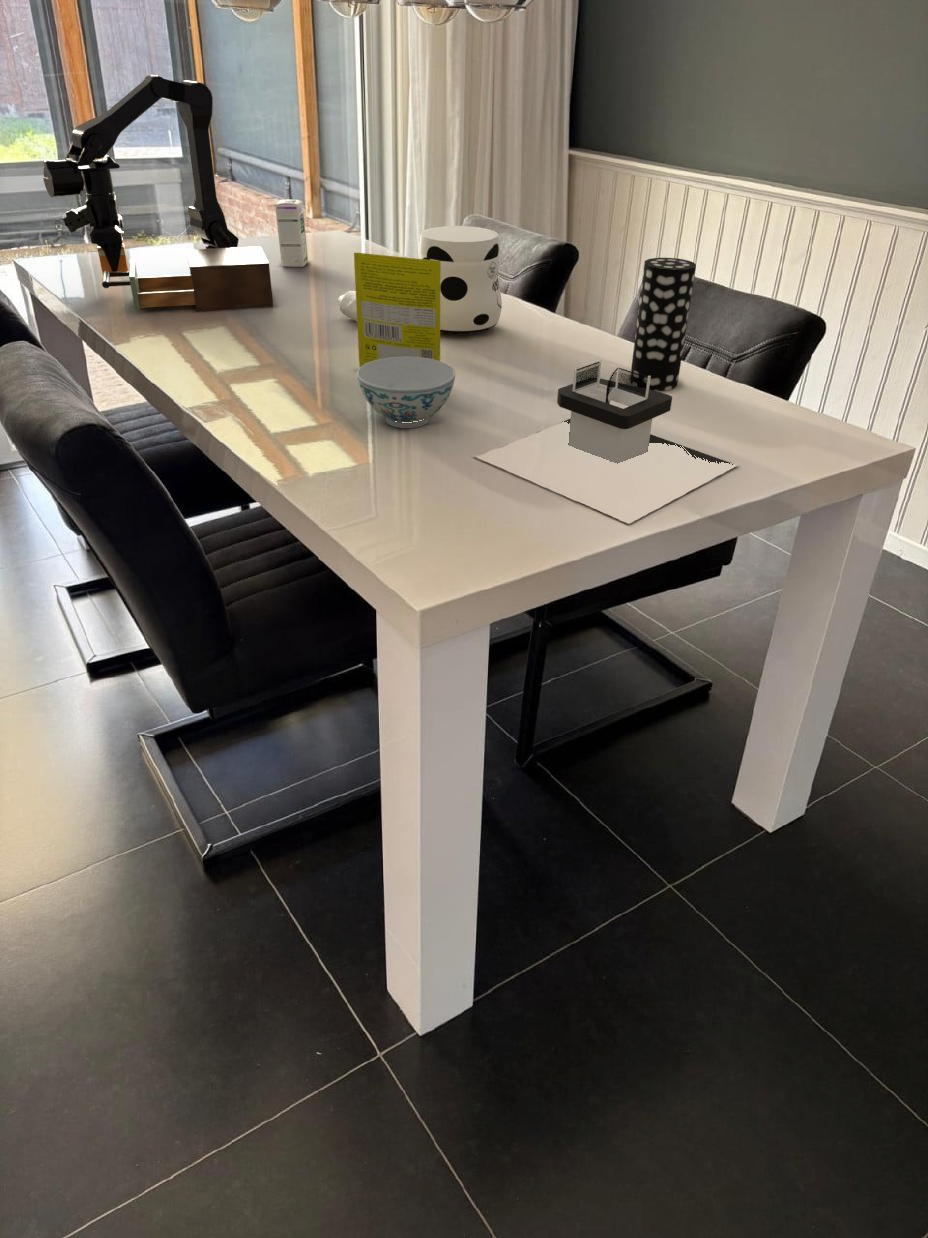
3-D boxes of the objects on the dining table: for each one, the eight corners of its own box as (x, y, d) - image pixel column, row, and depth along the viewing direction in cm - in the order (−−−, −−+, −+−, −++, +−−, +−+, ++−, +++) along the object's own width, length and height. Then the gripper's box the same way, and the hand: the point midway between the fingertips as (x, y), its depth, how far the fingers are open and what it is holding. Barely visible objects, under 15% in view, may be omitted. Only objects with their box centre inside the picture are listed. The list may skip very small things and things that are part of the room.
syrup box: (304, 266, 222) (299, 203, 214) (280, 266, 222) (274, 202, 214) (308, 261, 227) (303, 199, 219) (285, 261, 227) (279, 198, 219)
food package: (441, 380, 156) (441, 260, 145) (438, 382, 155) (439, 261, 144) (360, 369, 160) (355, 251, 149) (358, 371, 159) (352, 252, 148)
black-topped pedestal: (739, 466, 129) (757, 375, 121) (628, 525, 113) (642, 426, 106) (587, 412, 145) (595, 329, 138) (473, 457, 130) (475, 367, 122)
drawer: (106, 311, 183) (99, 278, 180) (108, 291, 196) (101, 260, 192) (215, 304, 189) (210, 272, 185) (210, 285, 201) (206, 255, 198)
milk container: (518, 328, 183) (522, 234, 172) (459, 346, 172) (461, 247, 162) (456, 311, 192) (457, 221, 182) (398, 327, 182) (395, 232, 172)
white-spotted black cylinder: (648, 393, 153) (665, 271, 141) (620, 378, 159) (634, 260, 148) (687, 386, 156) (706, 266, 145) (657, 372, 162) (674, 255, 151)
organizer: (196, 311, 189) (190, 266, 183) (193, 291, 201) (186, 249, 196) (273, 306, 192) (269, 262, 187) (265, 287, 205) (260, 246, 200)
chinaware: (419, 446, 133) (419, 396, 128) (339, 424, 139) (336, 376, 135) (472, 415, 143) (473, 368, 139) (396, 396, 150) (395, 350, 145)
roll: (355, 310, 191) (354, 283, 188) (384, 324, 183) (383, 296, 180) (330, 314, 188) (329, 287, 185) (359, 329, 180) (357, 300, 177)
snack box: (103, 276, 198) (97, 247, 195) (103, 272, 201) (97, 244, 197) (129, 275, 199) (123, 246, 196) (129, 271, 202) (124, 243, 199)
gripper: (62, 186, 196) (78, 261, 205) (56, 201, 181) (74, 281, 190) (116, 185, 199) (129, 259, 208) (114, 199, 184) (129, 278, 193)
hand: (115, 269), depth 199 cm, fingers closed on snack box, 3 cm apart
